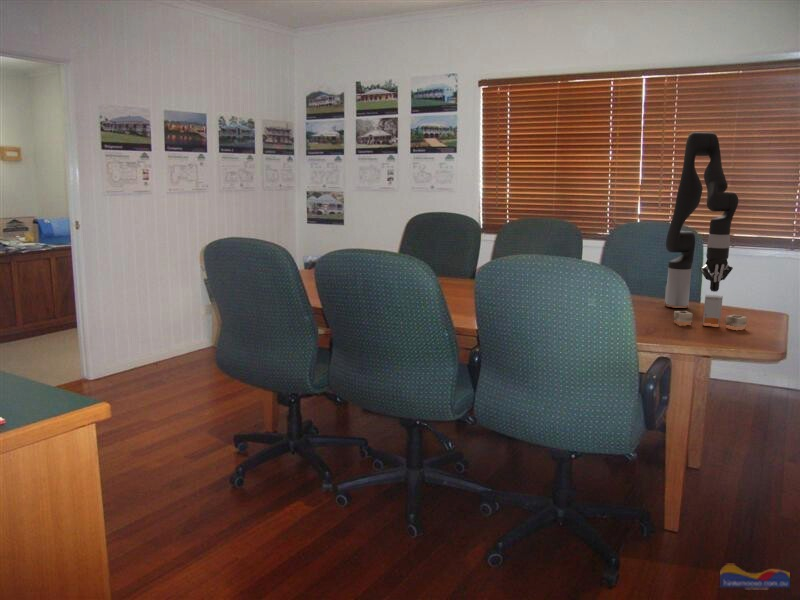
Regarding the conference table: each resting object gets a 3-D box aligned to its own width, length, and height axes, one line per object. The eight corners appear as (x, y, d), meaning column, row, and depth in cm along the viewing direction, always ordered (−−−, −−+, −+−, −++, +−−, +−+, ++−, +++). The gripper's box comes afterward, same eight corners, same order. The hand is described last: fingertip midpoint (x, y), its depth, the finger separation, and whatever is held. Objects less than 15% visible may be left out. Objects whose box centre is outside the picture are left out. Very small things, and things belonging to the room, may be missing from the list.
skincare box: (702, 326, 257) (704, 296, 254) (702, 324, 261) (705, 294, 258) (719, 328, 254) (722, 297, 252) (720, 326, 258) (722, 295, 255)
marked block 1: (673, 323, 263) (674, 310, 262) (685, 323, 263) (686, 310, 262) (678, 326, 258) (679, 313, 257) (691, 326, 258) (692, 313, 257)
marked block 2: (725, 328, 254) (726, 315, 253) (734, 327, 256) (735, 313, 255) (736, 331, 250) (738, 318, 248) (745, 330, 252) (747, 316, 251)
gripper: (727, 244, 256) (722, 288, 260) (696, 245, 253) (692, 290, 257) (740, 246, 249) (736, 292, 252) (709, 247, 246) (705, 293, 250)
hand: (714, 291), depth 255 cm, fingers closed
